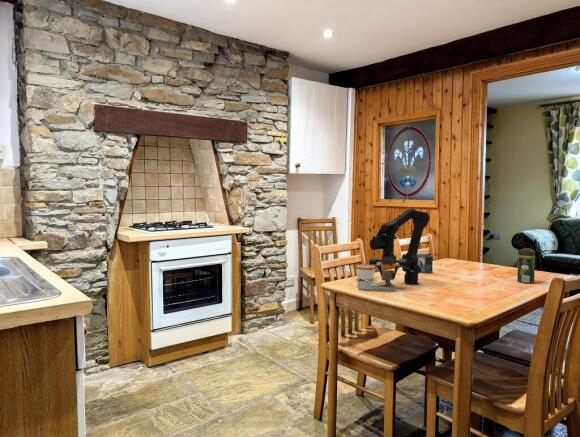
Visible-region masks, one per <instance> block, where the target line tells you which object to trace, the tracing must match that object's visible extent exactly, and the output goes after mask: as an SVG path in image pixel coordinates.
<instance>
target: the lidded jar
mask: <svg viewBox="0 0 580 437" xmlns="http://www.w3.org/2000/svg"><path fill="white" fill-rule="evenodd" d="M355 272H356V276H357V278H358V279H359V280H360V279H362V280H370V281H372V280H373V278H374V277H375V273H376V266H375V265H370V264H367V263H366V262H365V263H364V264H357V265H355ZM362 280H361V281H362Z"/></svg>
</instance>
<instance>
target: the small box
mask: <svg viewBox="0 0 580 437" xmlns="http://www.w3.org/2000/svg"><path fill="white" fill-rule="evenodd" d="M417 257H418V265H419V266H420V268H421V269H422V270H421V273H420V274H424V273H425V274H424V275H426V273H428V274H433V259H434V256H433V255H429V254H424V253H417Z"/></svg>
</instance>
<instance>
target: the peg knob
mask: <svg viewBox="0 0 580 437" xmlns="http://www.w3.org/2000/svg"><path fill="white" fill-rule="evenodd" d="M381 280H382V282H385V283H381V284H370V286H377V285H386V286H391V285H392V284H393V283H392V284H391V283H390V282H391V281H394V280H395V278H394V270H392V269H388V270H387V269H386V270H382V277H381Z"/></svg>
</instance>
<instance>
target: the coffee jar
mask: <svg viewBox="0 0 580 437" xmlns="http://www.w3.org/2000/svg"><path fill="white" fill-rule="evenodd" d="M535 261H536V251H535V250H534V249H533V248H530V247H529V248H527V247H524V248H522V249H520V250H518V251H517V274H516V275H517V277H516V279H517V280H516V281H517V282H518V283H523V284H533V283H534V282H535V274H536V273H535V270H536V268H535V267H536V262H535Z"/></svg>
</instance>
